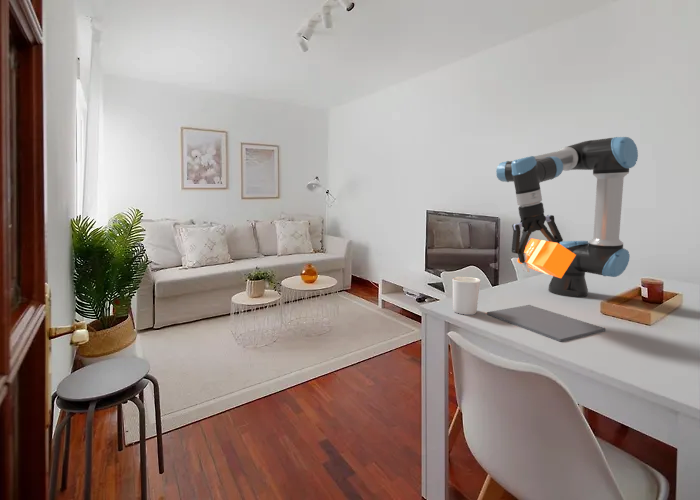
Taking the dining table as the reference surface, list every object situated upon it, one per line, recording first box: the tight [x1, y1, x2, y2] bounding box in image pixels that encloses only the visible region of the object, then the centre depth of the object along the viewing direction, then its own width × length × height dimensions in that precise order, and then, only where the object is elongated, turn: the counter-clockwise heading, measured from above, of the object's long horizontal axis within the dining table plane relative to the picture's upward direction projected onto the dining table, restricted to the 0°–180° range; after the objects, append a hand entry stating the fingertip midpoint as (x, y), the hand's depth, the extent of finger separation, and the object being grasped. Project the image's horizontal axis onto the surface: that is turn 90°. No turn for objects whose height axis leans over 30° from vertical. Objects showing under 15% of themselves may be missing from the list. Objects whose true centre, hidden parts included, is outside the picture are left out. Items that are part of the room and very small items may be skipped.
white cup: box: [451, 276, 482, 316], centre depth 138 cm, size 10×10×12 cm
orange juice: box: [517, 238, 576, 278], centre depth 128 cm, size 8×9×20 cm
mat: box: [486, 304, 606, 343], centre depth 128 cm, size 22×28×1 cm
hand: (540, 267), depth 130 cm, fingers closed on orange juice, 10 cm apart
